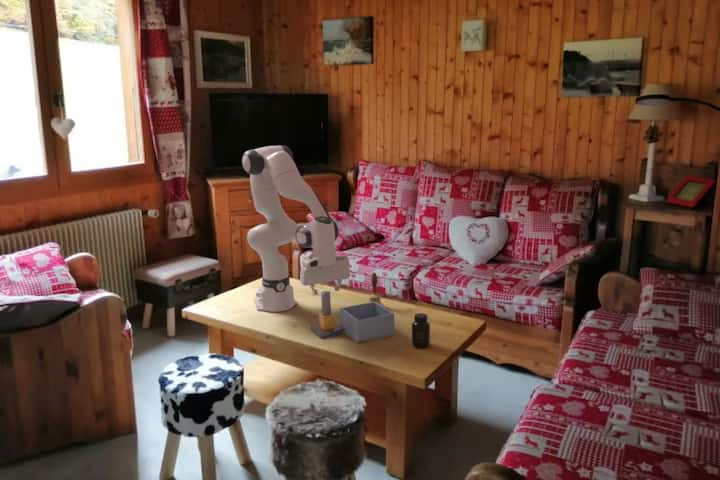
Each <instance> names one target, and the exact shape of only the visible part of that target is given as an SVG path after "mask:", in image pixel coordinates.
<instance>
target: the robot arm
mask: <svg viewBox="0 0 720 480" xmlns="http://www.w3.org/2000/svg"><path fill="white" fill-rule="evenodd" d="M241 157H242V158H241V165H242V168H243V170H244V171H245V172H246V173H247V174H248V175H249V178H250V179H249V181H250V190H251V195H252V199H253V204H254V209H255V211H256V212H257V213H258V214H261V215H262V216H264V218H265V219H266V223H262V224H257V225H256V226H254V227H252V228H250V229H249V230H248V232H247V235H246V239H247V243H248V245H249V246H250V248H251V249H253V250H254V251H256V252H257V254H258V255H259V257H260V260H261V265H262V275H263V276H262V278H261V279H262V280H261V286H260V287H258V291H255V297H254V298H253V302H254V305H255V309H256V311H260V312H261V311H263V312H270V313H271V312H273V313H278V312H284V311H288V310H291V309H292V308H293V307H294V306H295V305H297V304H298V301H297V300H296V299H295V296H294V287H293V286H292V285H291V281H290V280H291V279H290V275H289V266H288V265H289V264H288V259H287V257H286V256H285V255H283V254H281V253H280V252H279V247H280V246H283V245H288V244H290V243H291V242H293V241H295V240H296V243H297V244H298V246H300V247H301V248H305V249H306V248H307V249H308V248H312V253H311V254H310V255H308V256H306V257H304V258H302V259H301V264H302V266H301V267H300V271H299V281H300V283H301V284H302V285H303V286H304V287H305V286H309V287H310V289H311V291H312V295H314V296H316V295H319V294H318V290H317V289H316V288H315V285H318V284H324V283H329V282H336V285H334V286H333V287H334V288H333V289H334V291H336V292H338V291H340V289H341V288H340V286H341V284H342V283H343V280H347V279H349V278H350V277H351V271H350V266H349V264H350V258H349V257H348V256H346V255H340V256H337V252H336V251H337V250H336V246H335V243H336V241H337V240H338V237H339V234H340V229H339V226H338V224H337V223H336V221H335V220H334V219H333V218H332V217H331V215H330V214H329V212H328V210H327V209H326V207H325V205H324V203H323V202H322V200H321V198H320V197H319V195H318V194H317V192H316V190H315V189H314V188H313V186H311V185H309V184H308V183H307V182H306V181H305V180H304V179H303V177H302V175H301V174H300V172H299V170H298V168H297V166H296V165H297V164H296V163H295V162H294V160H293V159H294V155H293V152H292V150H291V149H290V147H289V146H287V145H282V144H281V145H279V144H278V145H268V146H263V147H258V148H255V149H254V148H253V149H249V150H246V151H245V152H244V153H243V154H242V156H241ZM279 195H280V196H282V197H283V198H285V199H288V200H294V201H297V202H300V203H303V204H305V205H306V206H307V208H309V211H311V213H312V215H313V217H314V218H312V220H311V221H309V222H306V223H303V224H300V225H298V224H297V222H295V220H293V219H292V218H290V217H289V216H288V215H287V214H286V212H285V210H284V209H283V207H282V204H281V200H280V196H279Z"/></svg>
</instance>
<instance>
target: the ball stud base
mask: <svg viewBox="0 0 720 480" xmlns="http://www.w3.org/2000/svg"><path fill="white" fill-rule="evenodd" d="M310 331H311V332H312V333H314V335H316V336H317V337H318V338H319V339H324V338H330V337H335V336H339V335H344V333H345V332H344V331H343V328H342V327H340V325H339V324H338V323H336V322H335V321H334V328H331V329H327V330H323V329H322V328H321V327H320V324H319V323H316V324H315V323H314V324H312V325H311V324H310Z"/></svg>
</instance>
